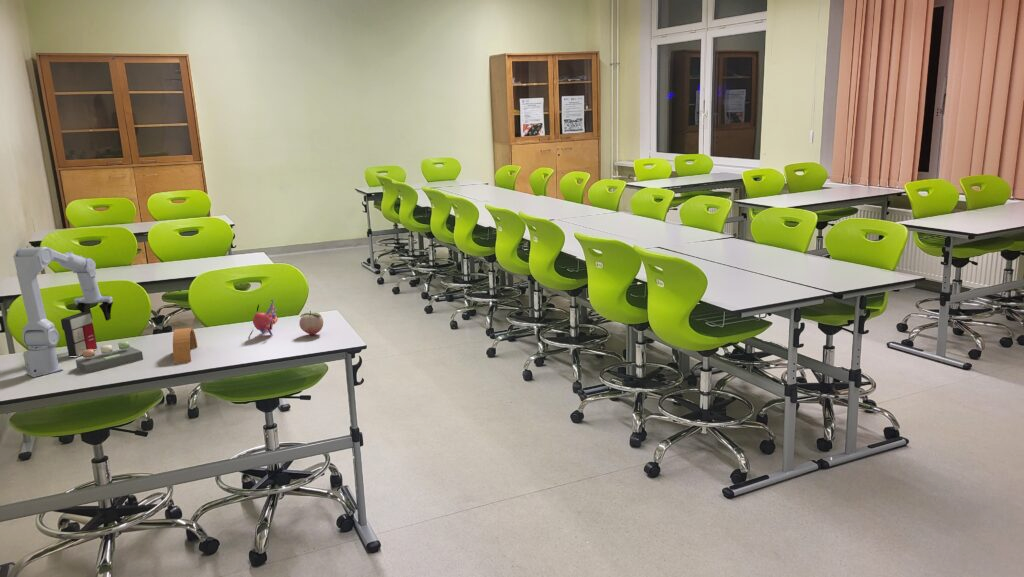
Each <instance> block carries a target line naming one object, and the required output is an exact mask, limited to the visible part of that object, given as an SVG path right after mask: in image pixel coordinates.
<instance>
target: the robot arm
mask: <svg viewBox="0 0 1024 577" xmlns="http://www.w3.org/2000/svg"><path fill="white" fill-rule="evenodd" d="M12 257H13V261H14V265H15V269H16V270H15V271H16V275H17V279H18V284H19V288H20V292H21V296H22V301H23V304H24V305H23V306H24V309H25V313H26V314H25V315H26V318H27V323H25V325H23V327H22V328H21V329H22V343H23V344H24V346H26V347H28V350H25V351H23V359H24V364H25V370H26V374H27V375H29V376H30V377H31V378H36V377H40V376H44V375H49V374H53V373H57V372H60V371H64V368H62V367H61V366H59V361H58V356H57V351H56V350H57V349H56V346H57V344H58V343H59V340H60V334H59V332H58V330H57V328H56V327H55V323H54V322H52V321H51V320H49V319H47V314H46V310H45V306H44V303H43V302H44V301H43V298H42V294H41V289H40V284H39V280H38V274H39V273H41V272H42V271H43V270H44V269H45V268H46V267H47V266H49V264H51V262H54V263H58V264H59V265H60V267H61V268H64V269H67V270H71V271H72V273H73V274H76V275H77V279H78V282H79V284H80V285H79V286H80V289H81V292H82V295H83V297H76V298H75V299H73V301H74V304H75V305H76V309H77V310H79V312H80V313H81V312H90V313H91V318H92V319H93V315H92V311H91V304H100V305H99V308H100V310H101V311H102V314H103V316H104V319H105V321H106V322H107V321H109V320H111V319H112V317H111V315H112V314H111V312H112V307H113V304H114V299H113V296H107V295H106V296H105V295H102V294H101V291H100V288H99V284H98V281H97V278H96V275H97V274H96V273H97V272H96V267H97V265H96V262H95V261H94V259H92V258H90V257H83V255H80V254H79V255H78V254H74V252H73V251H67V252H65V253H64V252H63V253H61V252H60V251H57V250H54V249H52V247H47V246H41V247H40V246H39V247H37V246H35V247H22V246H21V247H18V248H17V250H15V252H14V254H13V256H12Z"/></svg>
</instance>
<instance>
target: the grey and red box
mask: <svg viewBox="0 0 1024 577" xmlns="http://www.w3.org/2000/svg"><path fill="white" fill-rule="evenodd" d="M91 314H92V312H91V313H90V312H81V311H80V312H79V313H76V314H72V315H70V316H67V317H63V318H61V319H60V323H61V329H62V330H63V332H64V337H65V341H66V342H65V343H66V347H67V353H68V357H69V356H79V355H81V354H83V353H82V351H84V350H88V349H96V348H97V349H98V346H97V340H96V335H95V330H94V329H95V327H94V324H93V317H92V318H91ZM97 349H96V350H97ZM81 356H82V355H81ZM79 357H80V356H79Z"/></svg>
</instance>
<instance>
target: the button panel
mask: <svg viewBox="0 0 1024 577" xmlns="http://www.w3.org/2000/svg"><path fill="white" fill-rule="evenodd" d="M142 360H144V355H143V351H142V350H139V349H137V348H134V347H132V346H130V347H129V348H126V349H116V350H113V351H112V352H109V353H101V354H96V355H94V356H92V357H87V358H84V357H82V358H79V359H75V364H76V368H77V369H78V368H79V369H78V370H80V371H81V370H82V371H81V372H84V373H85V374H90V373H94V372H98V371H101V370H105V369H109V368H113V367H117V366H121V365H126V364H129V363H133V362H137V361H142Z"/></svg>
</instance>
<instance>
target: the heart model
mask: <svg viewBox="0 0 1024 577" xmlns="http://www.w3.org/2000/svg"><path fill="white" fill-rule="evenodd" d="M270 300H271V303H270V307H269V308H268V309H267V312H259V307H260V304H257V307H256V313H255V314H254V316H253V318H252V323H253V328H255V329H256V330H258V331H260V333H261V334H265V333H266V332H268V333H269V335H270V336H271V335H272V336H273V333H272V330H273V326H274V325H275V324H276V323H277V322H278V320H279V319H278V316H277V313H274V312H275V311H276V312H277V311H279V310H278V309H277V308H276V307H275V305H274V304H273V303H274V298H273V299H270ZM251 330H252V331H251V332H250V334H249V335H248V338H250V337H251V335H252V333H253V332H254V329H251Z"/></svg>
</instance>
